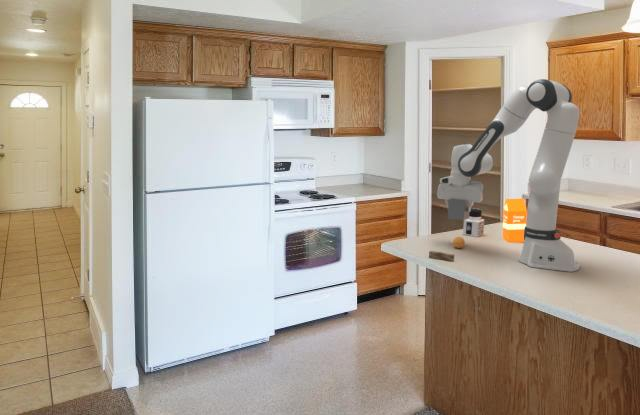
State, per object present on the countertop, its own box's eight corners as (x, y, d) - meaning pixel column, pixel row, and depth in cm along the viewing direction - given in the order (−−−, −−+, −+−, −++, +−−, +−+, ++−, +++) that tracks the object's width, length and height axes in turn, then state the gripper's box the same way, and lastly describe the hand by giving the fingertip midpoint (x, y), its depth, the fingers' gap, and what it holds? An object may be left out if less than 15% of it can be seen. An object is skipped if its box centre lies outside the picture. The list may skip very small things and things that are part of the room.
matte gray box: (469, 218, 240) (470, 198, 239) (463, 220, 234) (464, 201, 233) (453, 216, 244) (454, 197, 243) (447, 218, 238) (448, 199, 237)
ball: (466, 247, 235) (466, 236, 234) (462, 249, 231) (462, 238, 230) (455, 246, 238) (455, 235, 237) (451, 248, 234) (451, 237, 233)
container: (477, 237, 257) (479, 210, 254) (462, 234, 261) (464, 209, 259) (483, 234, 263) (485, 208, 261) (468, 232, 267) (470, 207, 265)
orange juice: (526, 241, 247) (527, 199, 245) (507, 242, 247) (508, 199, 245) (520, 238, 255) (521, 197, 252) (502, 239, 255) (502, 198, 253)
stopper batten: (454, 260, 214) (454, 254, 213) (452, 261, 212) (452, 255, 212) (430, 256, 219) (431, 250, 219) (428, 257, 218) (429, 251, 217)
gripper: (485, 180, 233) (483, 211, 236) (441, 177, 245) (440, 207, 247) (481, 182, 228) (479, 213, 230) (436, 179, 239) (435, 209, 242)
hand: (458, 210), depth 239 cm, fingers closed on matte gray box, 7 cm apart
